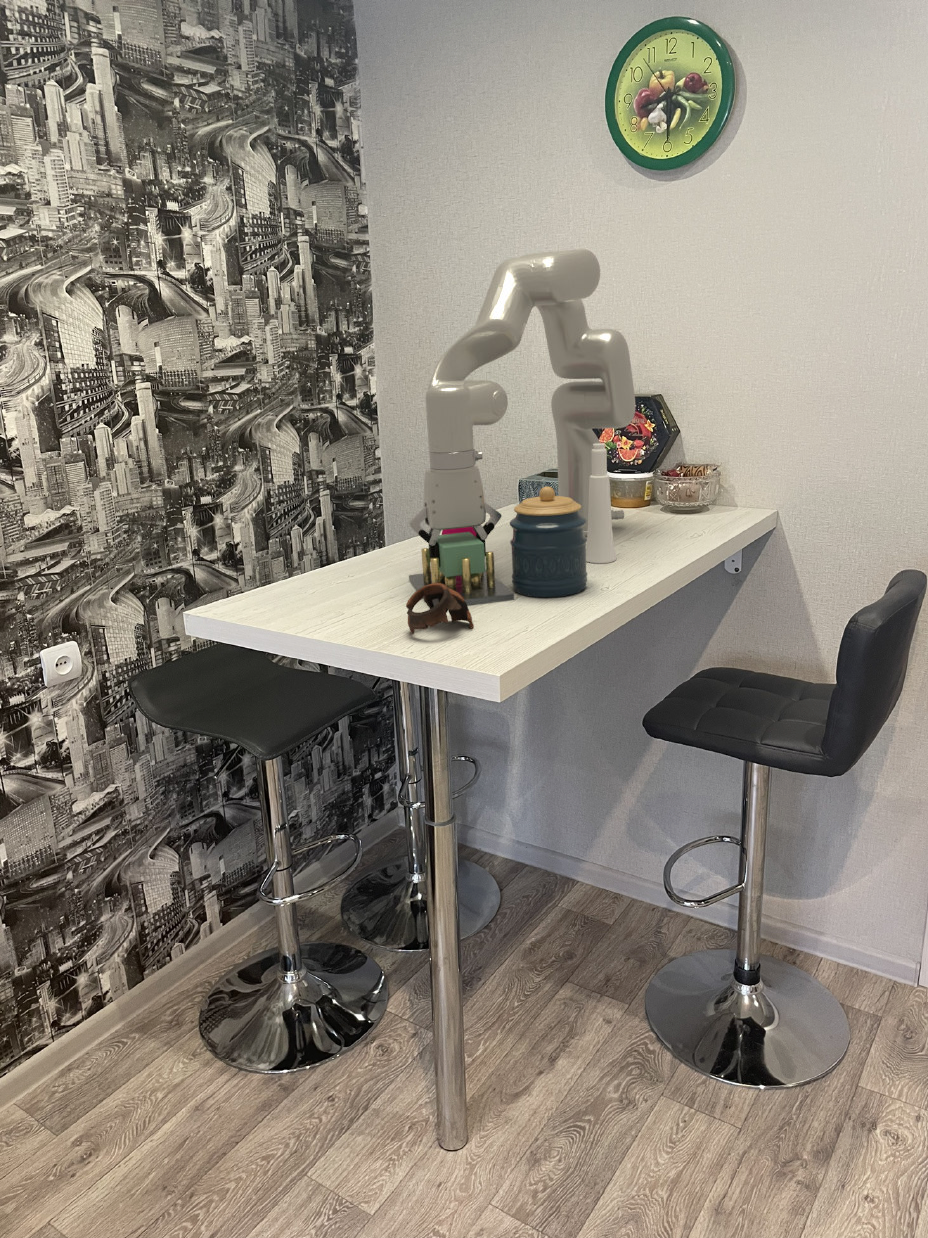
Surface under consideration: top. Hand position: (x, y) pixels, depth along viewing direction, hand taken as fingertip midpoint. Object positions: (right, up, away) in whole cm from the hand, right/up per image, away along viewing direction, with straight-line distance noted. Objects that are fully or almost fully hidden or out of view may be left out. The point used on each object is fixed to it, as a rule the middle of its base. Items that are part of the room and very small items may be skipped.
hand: (458, 562), depth 162 cm
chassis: (0, -5, +1) cm, 5 cm away
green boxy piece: (0, -1, 0) cm, 1 cm away
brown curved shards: (-3, -11, -19) cm, 22 cm away
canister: (+16, -5, -1) cm, 17 cm away
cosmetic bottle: (+27, +1, +16) cm, 32 cm away
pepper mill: (0, +2, +24) cm, 24 cm away
